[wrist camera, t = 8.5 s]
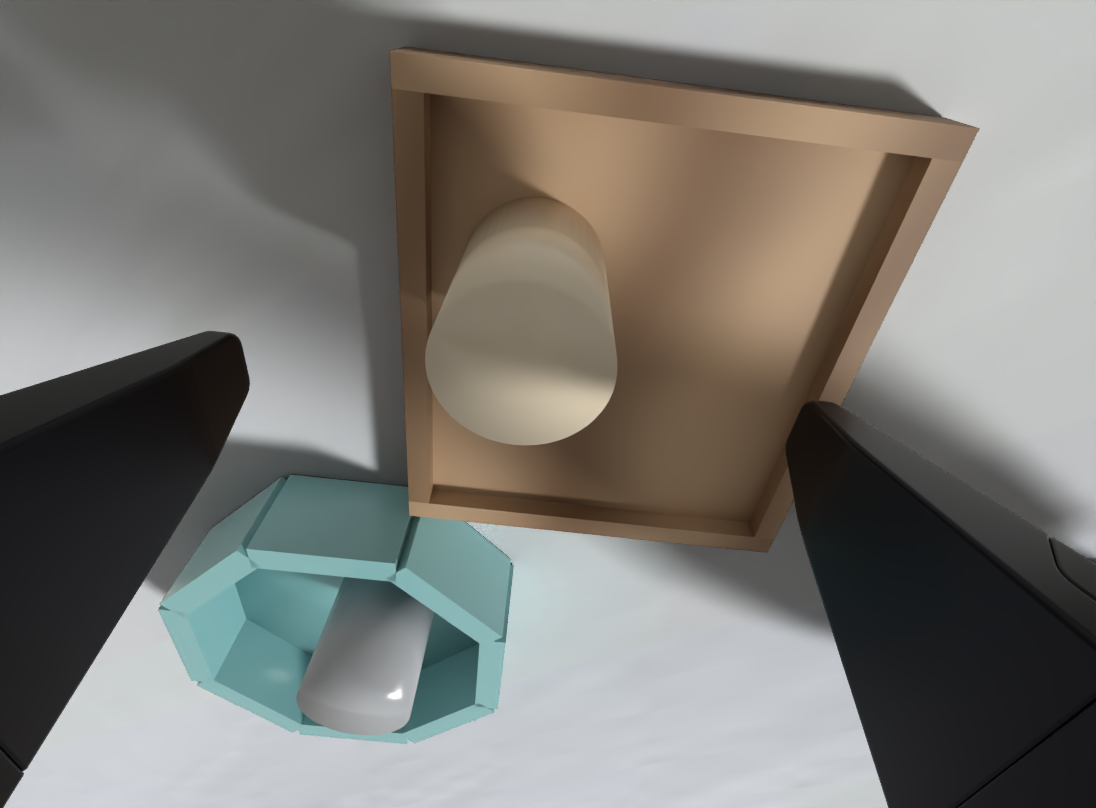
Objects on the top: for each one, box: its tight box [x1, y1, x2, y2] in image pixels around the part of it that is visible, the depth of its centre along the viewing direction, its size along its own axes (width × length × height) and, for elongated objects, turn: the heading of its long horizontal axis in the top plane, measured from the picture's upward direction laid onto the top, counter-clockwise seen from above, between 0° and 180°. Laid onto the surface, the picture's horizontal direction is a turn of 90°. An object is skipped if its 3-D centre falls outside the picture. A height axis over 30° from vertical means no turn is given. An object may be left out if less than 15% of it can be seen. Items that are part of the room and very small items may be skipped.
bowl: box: [158, 475, 514, 744], centre depth 20 cm, size 11×11×3 cm
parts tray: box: [390, 47, 979, 552], centre depth 14 cm, size 11×12×1 cm
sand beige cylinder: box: [425, 197, 617, 445], centre depth 11 cm, size 3×3×4 cm
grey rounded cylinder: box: [296, 577, 434, 735], centre depth 18 cm, size 3×3×4 cm
